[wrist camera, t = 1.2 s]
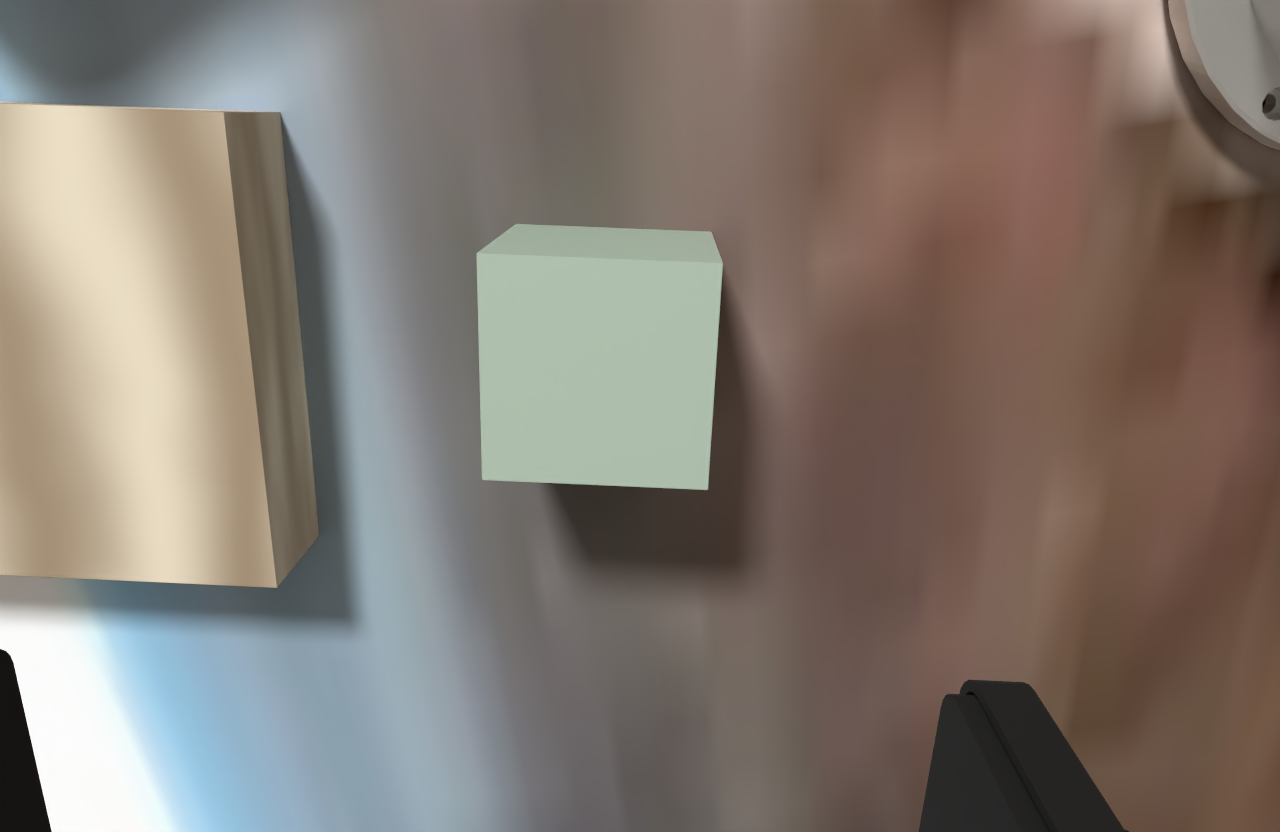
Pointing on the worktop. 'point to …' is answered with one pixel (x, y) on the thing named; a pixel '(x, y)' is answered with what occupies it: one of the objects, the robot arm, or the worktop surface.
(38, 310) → the birch block
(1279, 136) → the robot arm
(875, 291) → the worktop surface
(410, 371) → the worktop surface
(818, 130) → the worktop surface
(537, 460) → the sage cube
